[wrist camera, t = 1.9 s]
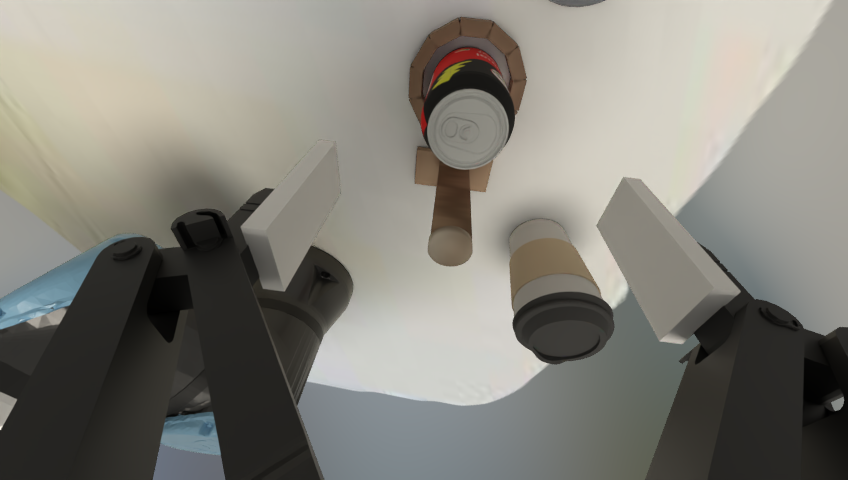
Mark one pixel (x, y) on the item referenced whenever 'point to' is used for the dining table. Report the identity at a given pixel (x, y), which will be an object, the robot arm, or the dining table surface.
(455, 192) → the ring holder
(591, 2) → the slate coaster
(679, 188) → the dining table surface
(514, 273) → the coffee cup
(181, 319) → the robot arm
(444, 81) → the beverage can
